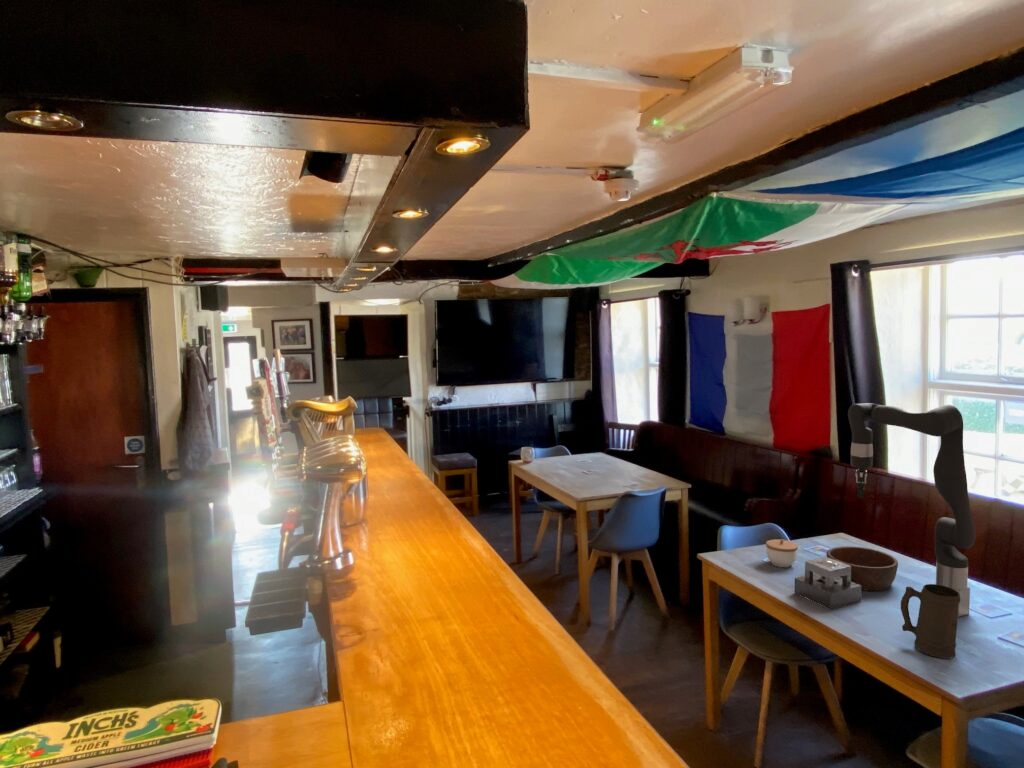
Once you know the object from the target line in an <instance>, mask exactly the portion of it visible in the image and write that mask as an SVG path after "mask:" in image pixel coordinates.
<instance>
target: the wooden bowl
mask: <svg viewBox="0 0 1024 768" xmlns="http://www.w3.org/2000/svg"><path fill="white" fill-rule="evenodd" d="M826 557H828V558H830V559H833V560H836V561H839V562H841V563H844V564H847V565H849V566H851V582H854V583H856V584H859V585H861V586H862V587H861V591H862V590H863V591H882V590H886V589H888V588H890V587H891V586H892V584H893V583H894V581H895V579H896V577H897V571H898V566H899V562H898V560H897V558H895V557H894V556H893V555H891V554H888V553H886V552H884V551H881V550H878V549H873V548H870V547H861V546H851V545H848V546H847V545H845V546H844V545H843V546H834V547H832V548H829V549H828V550H827V551H826ZM841 578H842V576H841Z"/></svg>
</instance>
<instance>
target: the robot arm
mask: <svg viewBox="0 0 1024 768" xmlns="http://www.w3.org/2000/svg"><path fill="white" fill-rule="evenodd" d="M847 410H848V411H847V418H848V423H849V425H850V430H851V445H850V466H852V467H854V468H857V469H855V479H856V480H855V482H856V483H857V485H856V488H857V494H856V495H857V498H860V499H864V497H865V488H866V485H865V484H867V477H868V470H866V469H870V468H872V467H873V461H874V447H873V446H874V445H873V441H874V439H873V433H874V432H873V430H872V429H871V428H869V427H866V425H865V422H874V423H876V424H880V425H885V426H886V425H887V426H894V427H899V428H904V429H908V430H911V431H916V432H918V433H921V434H925V435H927V436H932V437H935V438H936V437H937V438H939V437H940V445H939V449H938V452H937V455H936V458H935V461H934V464H933V472H932V473H933V478H934V485H935V488H936V490H937V492H938V494H939V496H940V497H941V498H942V500H943V501H944V502H945V503H946V504H947V506H948V507H949V509H950V510H951V513H952V514H953V517H954V518H952V517H951V518H950V517H948V516H947V517H946V516H944V517H940V518H938V520H937V521H936V523H935V526H934V554H935V557H936V561H935V562H936V563H935V565H936V566H935V584H937V585H942V586H946V587H949V588H952V589H954V590H956V591H957V592H958V593H959V594H960V599H961V600H960V603H959V605H958V616H957V618H960V617H963V616H965V615H969V614H970V601H971V588H970V587H968V582H969V581H968V579H969V578H968V577H969V559H968V557H967V556H965V555H964V554H963V553H961V552H960V551H959V550H958V549H957V548H960V549H970V548H972V547H973V546H974V544H975V542H976V529H975V528H976V527H975V523H974V520H973V514H972V510H971V507H970V499H969V491H968V490H969V489H968V480H967V472H966V471H967V470H966V467H965V455H964V454H965V452H964V419H963V415H962V413H961V411H960V410H959V409H958V407H956V406H955V405H951V404H944V405H941V406H938V407H935V408H933V409H930V410H929V411H927V412H918V413H917V412H916V413H915V412H909V411H907V410H906V409H903V408H901V407H898V406H895V405H894V406H892V405H883V404H882V405H881V404H877V403H873V402H871V403H870V402H869V403H868V402H864V403H863V402H862V403H853V404H851V405H850V407H849V408H848V409H847Z"/></svg>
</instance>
